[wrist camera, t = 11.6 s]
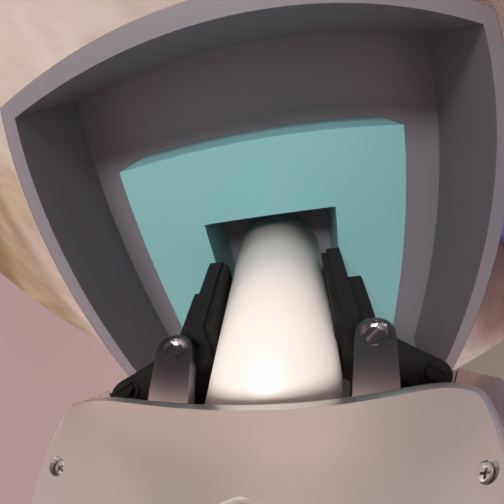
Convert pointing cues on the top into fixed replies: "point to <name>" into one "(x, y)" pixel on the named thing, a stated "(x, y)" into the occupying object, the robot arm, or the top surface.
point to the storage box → (271, 157)
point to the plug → (277, 322)
